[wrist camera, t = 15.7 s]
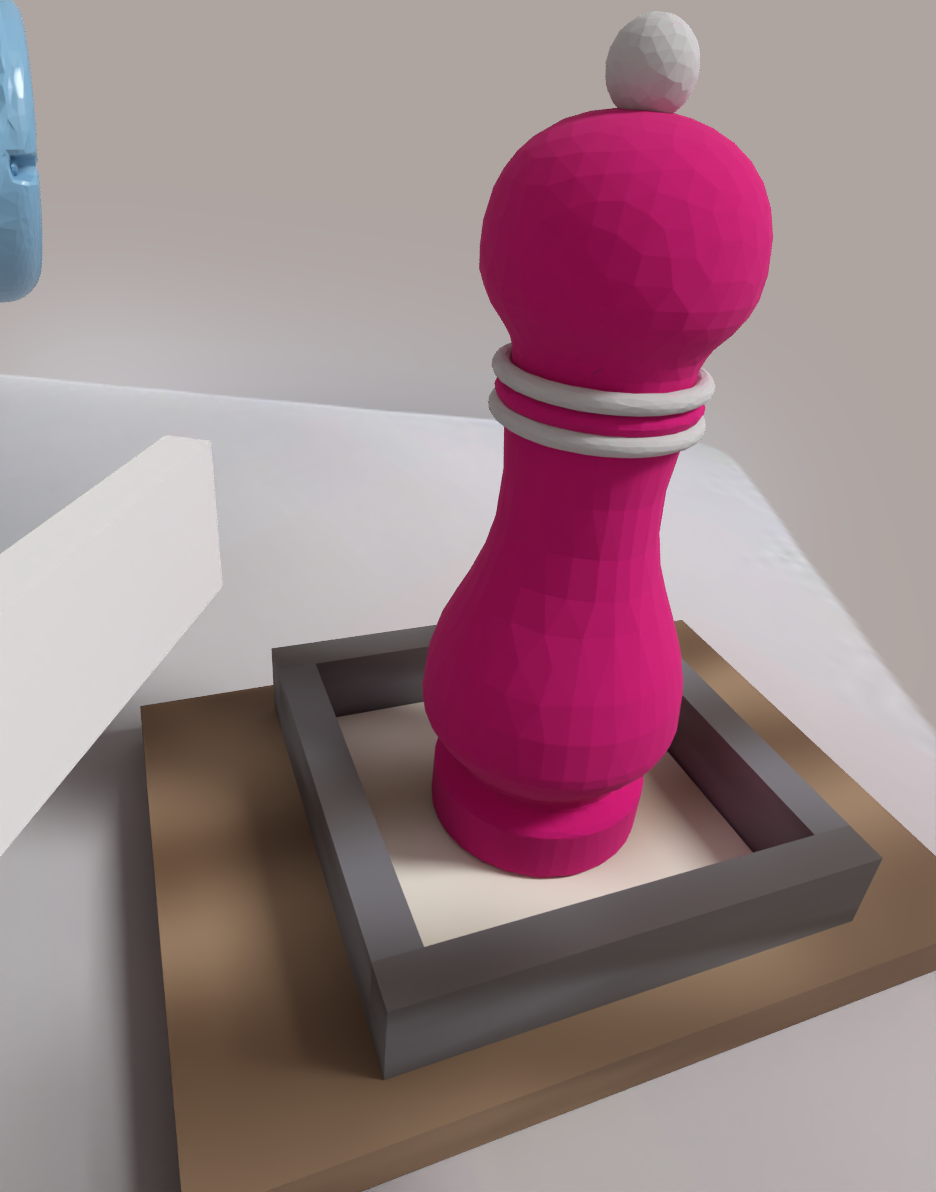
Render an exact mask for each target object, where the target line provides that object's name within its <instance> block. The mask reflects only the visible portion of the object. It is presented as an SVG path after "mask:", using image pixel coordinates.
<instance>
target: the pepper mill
mask: <svg viewBox="0 0 936 1192" xmlns="http://www.w3.org/2000/svg"><path fill="white" fill-rule="evenodd" d="M699 71H700V49H699V45H698V42H697V39H696V37H695V36H694V34H693V32H692V30H691V28H690V27H689V26H688V25H687V24H686V23H685V22H684V21H683V20H682V19H681V18H679V17H678V16H676V15H674V14H671V13H666V12H649V13H647V14H644V15H641V16H639V17H636V18H635V19H633V20H632V21H631V22H629V23H628V24H627V25H626V26H625V27H624V28H623V29H622V30H620V32H619V33H618V35H617V37H616V39H615V40H614V42H613V44H612V45H611V47H610V50H609V53H608V57H607V60H606V85H607V89H608V92H609V94H610V97H611V99H612V101H613V103H614V104H615V105H616V106H617V108H613V109H604V110H595V111H589V112H585V113H582V114H579V115H575V116H572V117H568V118H565V119H563V120H561V121H559V122H557V123H556V124H554V125H552V126H550V127H549V128H547V129H545V130H544V131H542V132H540V133H538V134H537V135H535V136H533V137H532V138H531V139H530V140H529V141H528V142H527V143H526V144H524V146H522V147H521V148H520V149H519V150H518V151H517V152H516V153H515V155H514V156H513V157H512V158H511V160H510V161H509V162H508V163H507V165H506V166H505V167H504V169H503V171H502V173H501V174H500V176H499V178H498V180H497V182H496V183H495V185H494V187H493V191H492V193H491V197H490V200H489V203H488V206H487V210H486V213H485V216H484V219H483V226H482V234H481V241H480V263H479V269H480V272H481V276H482V280H483V284H484V286H485V289H486V292H487V294H488V297H489V300H490V302H491V304H492V305H493V307H494V309H495V310H496V312H497V313H498V315H499V316H500V318H501V320H502V321H503V323H504V324H505V326H506V328H507V330H508V332H509V334H510V338H511V341H512V343H509V344H506V345H504V346H503V347H501V348H500V349H499V350H498V351H497V352H496V353H495V355H494V357H493V359H492V367H493V370H494V373H495V375H496V376H497V379H496V381H495V388H494V389H493V391H492V392H491V394H490V396H489V401H488V403H489V410H490V411H491V413H492V415H493V416H494V418H495V419H496V420H497V421H498V422H499V423H501V424H502V425H503V426H504V469H503V475H502V481H501V487H500V493H499V499H498V505H497V511H496V516H495V519H494V521H493V524H492V526H491V529H490V532H489V534H488V537H487V540H486V542H485V544H484V546H483V548H482V550H481V551H480V553H479V555H478V557H477V558H476V560H475V562H474V564H473V565H472V567H471V569H470V570H469V572H468V573H467V575H466V576H465V578H464V579H463V581H462V582H461V584H460V585H459V586H458V588H457V589H456V591H455V592H454V594H453V596H452V597H451V599H450V600H449V602H448V603H447V605H446V606H445V608H444V610H443V611H442V614H441V616H440V619H439V621H438V623H437V626H436V628H435V631H434V633H433V635H432V638H431V640H430V644H429V648H428V653H427V659H426V665H425V670H424V676H423V682H422V689H423V701H424V707H425V712H426V714H427V717H428V719H429V722H430V724H431V727H432V729H433V730H434V732H435V733H436V735H437V736H438V739H437V742H436V745H435V754H434V766H433V777H432V800H433V806H434V809H435V811H436V814H437V816H438V818H439V820H440V822H441V824H442V826H443V827H444V829H445V830H446V831H447V832H448V834H449V835H450V836H451V837H452V838H453V839H454V840H455V841H456V842H457V843H458V844H459V845H460V846H461V847H462V848H463V849H464V850H466V851H467V852H469V853H470V854H472V855H474V856H475V857H477V858H478V859H480V860H481V861H483V862H485V863H488V864H490V865H493V866H495V867H497V868H500V869H502V870H504V871H508V872H513V873H518V874H523V875H529V876H534V877H554V876H568V875H575V874H578V873H581V872H584V871H587V870H589V869H592V868H594V867H597V866H599V865H601V864H602V863H604V862H605V861H607V860H608V859H609V858H611V857H612V856H613V855H615V854H616V853H617V852H618V851H619V850H620V848H621V847H622V846H623V845H624V844H625V842H626V841H627V838H628V836H629V834H630V832H631V830H632V826H633V823H634V820H635V816H636V812H637V808H638V804H639V800H640V797H641V792H642V788H643V775H644V774H646V773H647V772H648V771H649V770H650V769H652V768H653V767H654V766H655V765H656V764H657V763H658V762H659V761H660V759H661V758H662V757H663V756H664V755H665V753H666V751H667V750H668V748H669V746H670V745H671V742H672V740H673V738H674V736H675V733H676V731H677V725H678V719H679V713H680V707H681V701H682V693H683V672H682V660H681V651H680V646H679V640H678V636H677V632H676V628H675V624H674V620H673V616H672V612H671V608H670V605H669V601H668V597H667V593H666V589H665V584H664V580H663V575H662V570H661V565H660V537H659V531H660V525H661V519H662V513H663V507H664V501H665V495H666V490H667V487H668V484H669V481H670V478H671V476H672V473H673V470H674V467H675V464H676V461H677V458H678V455H679V453H680V451H683V450H686V449H688V448H690V447H692V446H693V445H695V444H696V443H697V442H698V441H699V440H700V439H701V438H702V436H703V434H704V432H705V427H706V423H705V420H704V417H703V415H704V411H705V405H704V404H705V403H707V402H708V401H709V400H710V399H711V398H712V396H713V393H714V390H715V385H714V381H713V378H712V377H711V375H710V374H709V373H708V372H707V371H706V370H705V369H704V368H702V365H703V363H704V362H705V360H706V359H707V357H708V356H709V355H710V354H711V353H712V351H713V350H714V349H716V348H717V347H718V346H719V345H721V344H722V343H723V342H724V341H726V340H727V339H728V338H729V337H731V336H732V335H733V334H734V333H735V332H736V331H737V330H738V329H739V328H740V326H741V325H742V324H743V323H744V322H745V321H746V320H747V319H748V318H749V316H750V315H751V313H752V312H753V310H754V308H755V307H756V305H757V303H758V302H759V300H760V297H761V294H762V291H763V288H764V285H765V282H766V279H767V276H768V271H769V264H770V256H771V249H772V240H773V232H772V216H771V207H770V203H769V200H768V196H767V193H766V189H765V186H764V183H763V181H762V179H761V178H760V176H759V174H758V172H757V170H756V169H755V167H754V165H753V164H752V162H751V161H750V159H749V158H748V157H747V156H746V155H745V154H744V153H743V152H742V151H741V150H740V149H739V148H738V147H737V145H735V143H734V142H732V141H731V140H729V139H728V138H726V137H725V136H723V135H722V134H720V133H719V132H718V131H716V130H715V129H713V128H711V127H709V126H707V125H705V124H703V123H700V122H698V121H696V120H694V119H691V118H688V117H684V116H681V115H678V114H675V113H674V112H675V111H677V110H678V109H679V108H680V107H681V106H682V105H683V104H684V103H685V102H686V100H687V99H688V97H689V96H690V94H691V93H692V91H693V89H694V87H695V84H696V81H697V78H698V75H699Z"/></svg>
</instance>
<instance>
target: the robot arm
mask: <svg viewBox="0 0 936 1192" xmlns="http://www.w3.org/2000/svg"><path fill="white" fill-rule="evenodd" d="M37 160H38V159H37V149H36V123H35V112H34V102H33V91H32V81H31V73H30V64H29V56H28V48H27V41H26V35H25V29H24V24H23V20H22V16H21V13H20V11H19V9H18V7H17V6H16V5H15V3H14V2H13V1H12V0H0V302H11V301H16V300H19V299H21V298H23V297H25V296H26V295H27V294H28V293H30V292H31V291H32V290H33V288H34V287H35V286H36V284H37V282H38V280H39V277H40V274H41V267H42V218H41V217H42V216H41V199H40V185H39V176H38V171H37V168H36V164H37ZM222 587H223V583H222V571H221V560H220V548H219V536H218V524H217V512H216V501H215V489H214V477H213V465H212V453H211V441H207V440H199V439H192V438H184V437H177V436H169V435H165V436H164V437H162V438H161V439H160V440H158V441H157V442H155V443H154V444H153V445H151V446H150V447H148V448H147V449H146V450H144V451H143V452H142V453H140V454H139V455H137V456H136V457H135V458H133V459H132V460H130V461H129V462H128V463H126V464H125V465H123V466H122V467H121V468H119V469H118V470H116V471H115V472H114V473H112V474H111V475H110V476H108V477H107V478H105V479H104V480H103V481H101V482H100V483H98V484H97V485H96V486H94V487H93V488H91V489H90V490H89V491H87V492H86V493H84V494H83V495H82V496H80V497H79V498H78V499H76V500H75V501H73V502H72V503H71V504H69V505H68V506H66V507H65V508H64V509H62V510H61V511H59V512H58V513H57V514H55V515H54V516H53V517H51V518H50V519H48V520H47V521H46V522H44V523H43V524H41V525H40V526H39V527H37V528H36V529H34V530H33V531H32V532H30V533H29V534H27V535H26V536H25V537H23V538H22V539H21V540H19V541H18V542H16V543H15V544H14V545H12V546H11V547H9V548H8V549H7V550H5V551H4V552H2V553H1V554H0V856H1V855H2V854H3V853H4V852H5V850H6V849H7V848H8V847H9V846H10V844H11V843H12V842H13V841H14V839H15V838H16V837H17V836H18V835H19V833H20V832H21V831H22V830H23V828H24V827H25V826H26V825H27V824H28V822H29V821H30V820H31V819H32V818H33V816H34V815H35V814H36V813H37V811H38V810H39V809H40V808H41V807H42V805H43V804H44V803H45V802H46V801H47V799H48V798H49V797H50V796H51V794H52V793H53V792H54V791H55V790H56V788H57V787H58V786H59V785H60V784H61V782H62V781H63V780H64V779H65V777H66V776H67V775H68V774H69V773H70V771H71V770H72V769H73V768H74V766H75V765H76V764H77V763H78V762H79V760H80V759H81V758H82V757H83V756H84V754H85V753H86V752H87V751H88V749H89V748H90V747H91V746H92V745H93V743H94V742H95V741H96V740H97V739H98V737H99V736H100V735H101V734H102V732H103V731H104V730H105V729H106V728H107V726H108V725H109V724H110V723H111V722H112V720H113V719H114V718H115V717H116V715H117V714H118V713H119V712H120V711H121V709H122V708H123V707H124V706H125V705H126V703H127V702H128V701H129V700H130V698H131V697H132V696H133V695H134V694H135V692H136V691H137V690H138V689H139V687H140V686H141V685H142V684H143V683H144V681H145V680H146V679H147V678H148V677H149V675H150V674H151V673H152V672H153V670H154V669H155V668H156V667H157V666H158V664H159V663H160V662H161V661H162V660H163V658H164V657H165V656H166V655H167V653H168V652H169V651H170V650H171V649H172V647H173V646H174V645H175V644H176V643H177V641H178V640H179V639H180V638H181V636H182V635H183V634H184V633H185V632H186V630H187V629H188V628H189V627H190V625H191V624H192V623H193V622H194V621H195V619H196V618H197V617H198V616H199V615H200V613H201V612H202V611H203V610H204V608H205V607H206V606H207V605H208V604H209V602H210V601H211V600H212V599H213V598H214V596H215V595H216V594H217V593H218V591H219V590H220V589H221V588H222Z"/></svg>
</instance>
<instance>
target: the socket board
mask: <svg viewBox="0 0 936 1192" xmlns="http://www.w3.org/2000/svg"><path fill="white" fill-rule="evenodd" d="M674 624H675V628H676V632H677V636H678V640H679V646H680V651H681V660H682V672H683V693H682V701H681V707H680V713H679V719H678V725H677V731H676V733H675V736H674V738H673V740H672V742H671V745H670V746H669V748H668V750H667V751H666V753H665V755H664V756H663V757H662V758H661V759H660V761H659V762H658V763H657V764H656V765H655V766H654V767H653V768H652V769H650V770H649V771H648V772H647V773H646V774H644V775H643V788H642V792H641V797H640V800H639V804H638V808H637V812H636V816H635V820H634V823H633V826H632V830H631V832H630V834H629V836H628V838H627V841H626V842H625V844H624V845H623V846H622V847H621V848H620V850H619V851H618V852H617V853H616V854H615V855H613V856H612V857H611V858H609V859H608V860H607V861H605V862H604V863H602V864H601V865H599V866H597V867H594V868H592V869H589V870H587V871H584V872H581V873H578V874H575V875H568V876H554V877H534V876H529V875H523V874H518V873H513V872H508V871H504V870H502V869H500V868H497V867H495V866H493V865H490V864H488V863H485V862H483V861H481V860H480V859H478V858H477V857H475V856H474V855H472V854H470V853H469V852H467V851H466V850H464V849H463V848H462V847H461V846H460V845H459V844H458V843H457V842H456V841H455V840H454V839H453V838H452V837H451V836H450V835H449V834H448V832H447V831H446V830H445V829H444V827H443V826H442V824H441V822H440V820H439V818H438V816H437V814H436V811H435V809H434V806H433V800H432V777H433V766H434V754H435V745H436V742H437V739H438V736H437V735H436V733H435V732H434V730H433V729H432V727H431V724H430V722H429V719H428V717H427V714H426V712H425V707H424V701H423V689H422V682H423V676H424V670H425V665H426V659H427V653H428V648H429V644H430V640H431V638H432V635H433V633H434V631H435V628H436V626H437V625H432V626H425V627H418V628H411V629H404V630H397V631H390V632H384V633H377V634H370V635H363V636H356V637H349V638H342V639H335V640H328V641H321V642H314V643H307V644H300V645H293V646H286V647H279V648H272V664H273V684H274V685H271V686H264V687H258V688H252V689H246V690H239V691H233V692H227V693H220V694H214V695H208V696H202V697H195V698H189V699H183V700H177V701H170V702H164V703H158V704H151V705H145V706H140V708H141V720H142V732H143V744H144V756H145V767H146V779H147V791H148V803H149V815H150V827H151V839H152V851H153V862H154V874H155V886H156V898H157V910H158V922H159V934H160V946H161V957H162V969H163V981H164V993H165V1005H166V1017H167V1029H168V1041H169V1052H170V1064H171V1076H172V1088H173V1100H174V1112H175V1124H176V1136H177V1148H178V1159H179V1171H180V1183H181V1192H361V1191H364V1190H366V1189H369V1188H371V1187H374V1186H377V1185H379V1184H382V1183H384V1182H387V1181H390V1180H392V1179H395V1178H397V1177H400V1176H403V1175H405V1174H408V1173H410V1172H413V1171H416V1170H418V1169H421V1168H423V1167H426V1166H429V1165H431V1164H434V1163H436V1162H439V1161H442V1160H444V1159H447V1158H449V1157H452V1156H455V1155H457V1154H460V1153H462V1152H465V1151H467V1150H470V1149H473V1148H475V1147H478V1146H480V1145H483V1144H486V1143H488V1142H491V1141H493V1140H496V1139H499V1138H501V1137H504V1136H506V1135H509V1134H512V1133H514V1132H517V1131H519V1130H522V1129H525V1128H527V1127H530V1126H532V1125H535V1124H538V1123H540V1122H543V1121H545V1120H548V1119H551V1118H553V1117H556V1116H558V1115H561V1114H564V1113H566V1112H569V1111H571V1110H574V1109H577V1108H579V1107H582V1106H584V1105H587V1104H590V1103H592V1102H595V1101H597V1100H600V1099H603V1098H605V1097H608V1096H610V1095H613V1094H616V1093H618V1092H621V1091H623V1090H626V1089H629V1088H631V1087H634V1086H636V1085H639V1084H642V1083H644V1082H647V1081H649V1080H652V1079H654V1078H657V1077H660V1076H662V1075H665V1074H667V1073H670V1072H673V1071H675V1070H678V1069H680V1068H683V1067H686V1066H688V1065H691V1064H693V1063H696V1062H699V1061H701V1060H704V1059H706V1058H709V1057H712V1056H714V1055H717V1054H719V1053H722V1052H725V1051H727V1050H730V1049H732V1048H735V1047H738V1046H740V1045H743V1044H745V1043H748V1042H751V1041H753V1040H756V1039H758V1038H761V1037H764V1036H766V1035H769V1034H771V1033H774V1032H777V1031H779V1030H782V1029H784V1028H787V1027H790V1026H792V1025H795V1024H797V1023H800V1022H803V1021H805V1020H808V1019H810V1018H813V1017H816V1016H818V1015H821V1014H823V1013H826V1012H828V1011H831V1010H834V1009H836V1008H839V1007H841V1006H844V1005H847V1004H849V1003H852V1002H854V1001H857V1000H860V999H862V998H865V997H867V996H870V995H873V994H875V993H878V992H880V991H883V990H886V989H888V988H891V987H893V986H896V985H899V984H901V983H904V982H906V981H909V980H912V979H914V978H917V977H919V976H922V975H925V974H927V973H930V972H932V971H935V970H936V856H935V855H934V854H933V853H932V852H931V851H930V850H928V849H927V848H926V847H925V846H924V845H923V844H922V843H921V842H920V841H919V840H918V839H917V838H916V837H915V836H913V835H912V834H911V833H910V832H909V831H908V830H907V829H906V828H905V827H904V826H903V825H902V824H901V823H899V822H898V821H897V820H896V819H895V818H894V817H893V816H892V815H891V814H890V813H889V812H888V811H887V810H885V809H884V808H883V807H882V806H881V805H880V804H879V803H878V802H877V801H876V800H875V799H874V798H873V797H872V796H870V795H869V794H868V793H867V792H866V791H865V790H864V789H863V788H862V787H861V786H860V785H859V784H858V783H856V782H855V781H854V780H853V779H852V778H851V777H850V776H849V775H848V774H847V773H846V772H845V771H844V770H843V769H841V768H840V767H839V766H838V765H837V764H836V763H835V762H834V761H833V760H832V759H831V758H830V757H829V756H827V755H826V754H825V753H824V752H823V751H822V750H821V749H820V748H819V747H818V746H817V745H816V744H815V743H813V742H812V741H811V740H810V739H809V738H808V737H807V736H806V735H805V734H804V733H803V732H802V731H801V730H800V729H798V728H797V727H796V726H795V725H794V724H793V723H792V722H791V721H790V720H789V719H788V718H787V717H786V716H784V715H783V714H782V713H781V712H780V711H779V710H778V709H777V708H776V707H775V706H774V705H773V704H772V703H771V702H769V701H768V700H767V699H766V698H765V697H764V696H763V695H762V694H761V693H760V692H759V691H758V690H757V689H755V688H754V687H753V686H752V685H751V684H750V683H749V682H748V681H747V680H746V679H745V678H744V677H743V676H741V675H740V674H739V673H738V672H737V671H736V670H735V669H734V668H733V667H732V666H731V665H730V664H729V663H728V662H726V661H725V660H724V659H723V658H722V657H721V656H720V655H719V654H718V653H717V652H716V651H715V650H714V649H712V648H711V647H710V646H709V645H708V644H707V643H706V642H705V641H704V640H703V639H702V638H701V637H700V636H699V635H697V634H696V633H695V632H694V631H693V630H692V629H691V628H690V627H689V626H688V625H687V624H686V623H685V622H683V621H682V620H679V621H674Z"/></svg>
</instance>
